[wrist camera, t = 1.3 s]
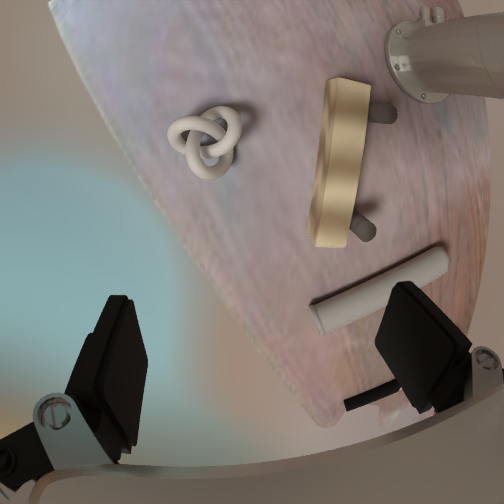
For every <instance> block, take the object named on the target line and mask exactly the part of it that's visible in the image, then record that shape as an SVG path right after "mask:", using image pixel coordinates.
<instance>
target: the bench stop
mask: <svg viewBox="0 0 504 504" xmlns="http://www.w3.org/2000/svg"><path fill="white" fill-rule="evenodd" d="M370 90H371V85H367V84H364V83H360V82H356V81H352V80H348V79H344V78H339V77H338V78H334V79H330V80H326V86H325V96H324V107H323V116H322V125H321V134H320V143H319V151H318V159H317V166H316V174H315V181H314V188H313V195H312V202H311V209H310V215H309V222H308V228H307V235H308V236H309V238H310V239H311V241H312V242H313V244H314V245H315V247H339V248H345V246H346V242H347V237H348V233H349V228H350V229H351V230H352V231H353V232H354V233H355V234H356V235H357V236H358V237H359V238H360V239H361V240H362V241H364V242H368V241H370V240H372V239H373V238H374V237H375V235H376V227H375V225H374V224H373V223H371V222H370V221H369V220H368V219H367V218H365V217H364V216H363V215H362V214H360V213H359V212H358V211H357V210H355V209H354V203H355V198H356V192H357V187H358V181H359V175H360V169H361V163H362V156H363V150H364V142H365V135H366V127H367V121H369V122H377V123H384V124H392V123H394V122H395V121H396V119H397V110H396V108H395V107H394V106H393V105H392V104H390V103H369V100H370Z"/></svg>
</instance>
